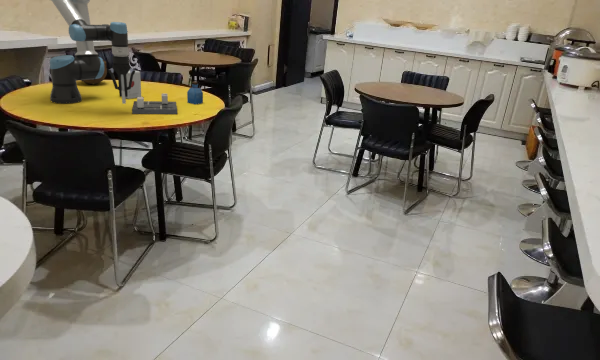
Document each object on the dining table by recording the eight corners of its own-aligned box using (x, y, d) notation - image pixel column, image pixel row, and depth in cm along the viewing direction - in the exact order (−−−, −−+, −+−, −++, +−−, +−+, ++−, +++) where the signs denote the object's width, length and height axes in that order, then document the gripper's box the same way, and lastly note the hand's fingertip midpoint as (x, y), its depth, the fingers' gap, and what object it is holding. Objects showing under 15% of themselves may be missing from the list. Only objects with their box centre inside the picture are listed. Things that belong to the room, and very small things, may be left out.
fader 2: (161, 103, 245) (161, 95, 244) (161, 101, 250) (161, 93, 248) (167, 103, 246) (167, 95, 244) (167, 101, 250) (167, 93, 249)
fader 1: (137, 107, 233) (136, 98, 231) (137, 105, 237) (137, 96, 236) (143, 107, 234) (143, 98, 232) (144, 105, 238) (143, 96, 237)
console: (132, 113, 232) (132, 109, 231) (134, 105, 248) (133, 100, 247) (177, 114, 238) (177, 109, 237) (176, 105, 255) (175, 101, 254)
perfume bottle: (195, 104, 261) (195, 83, 257) (187, 102, 264) (187, 81, 260) (202, 103, 266) (202, 82, 262) (195, 101, 269) (194, 80, 265)
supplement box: (128, 99, 262) (126, 72, 256) (119, 96, 266) (117, 70, 261) (142, 97, 269) (140, 71, 263) (132, 94, 273) (131, 69, 268)
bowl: (101, 87, 285) (99, 63, 279) (70, 85, 284) (68, 61, 279) (113, 82, 302) (111, 59, 297) (84, 80, 302) (82, 57, 296)
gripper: (105, 55, 219) (109, 104, 227) (134, 56, 223) (137, 104, 231) (107, 54, 226) (111, 101, 234) (135, 55, 229) (137, 101, 238)
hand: (124, 102), depth 233 cm, fingers closed
